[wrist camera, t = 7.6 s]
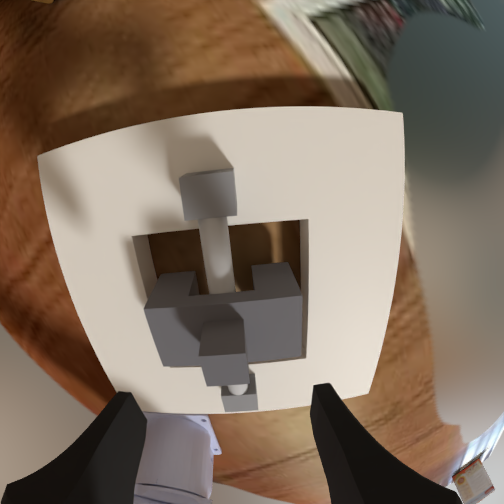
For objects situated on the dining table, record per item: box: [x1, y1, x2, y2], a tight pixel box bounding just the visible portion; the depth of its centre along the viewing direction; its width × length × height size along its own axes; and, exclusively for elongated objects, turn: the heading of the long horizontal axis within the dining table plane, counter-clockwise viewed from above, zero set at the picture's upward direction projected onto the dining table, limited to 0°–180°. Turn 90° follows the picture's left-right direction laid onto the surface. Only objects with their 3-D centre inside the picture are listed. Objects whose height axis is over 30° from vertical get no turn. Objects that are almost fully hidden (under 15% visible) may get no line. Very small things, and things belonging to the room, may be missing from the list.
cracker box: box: [452, 458, 495, 504], centre depth 48 cm, size 14×6×21 cm, turn 132°
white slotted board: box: [37, 106, 405, 414], centre depth 17 cm, size 22×22×4 cm
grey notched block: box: [143, 262, 302, 387], centre depth 14 cm, size 4×8×6 cm, turn 94°
